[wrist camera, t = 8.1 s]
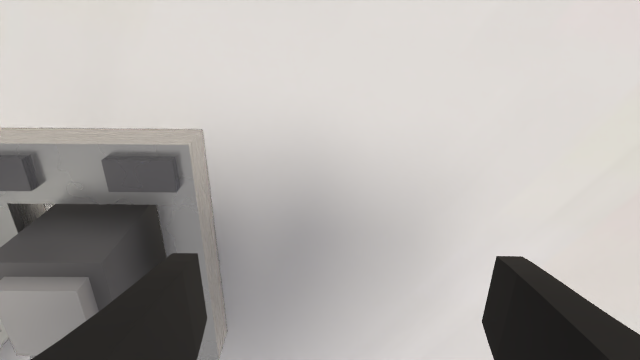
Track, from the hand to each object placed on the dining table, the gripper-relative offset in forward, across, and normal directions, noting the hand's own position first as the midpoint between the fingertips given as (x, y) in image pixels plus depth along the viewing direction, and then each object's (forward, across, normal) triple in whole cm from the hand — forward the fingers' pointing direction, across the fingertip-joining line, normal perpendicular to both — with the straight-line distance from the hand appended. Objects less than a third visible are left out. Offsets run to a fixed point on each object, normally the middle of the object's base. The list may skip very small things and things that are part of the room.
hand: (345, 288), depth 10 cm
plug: (+10, +11, +5) cm, 15 cm away
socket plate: (+9, +11, +5) cm, 15 cm away
